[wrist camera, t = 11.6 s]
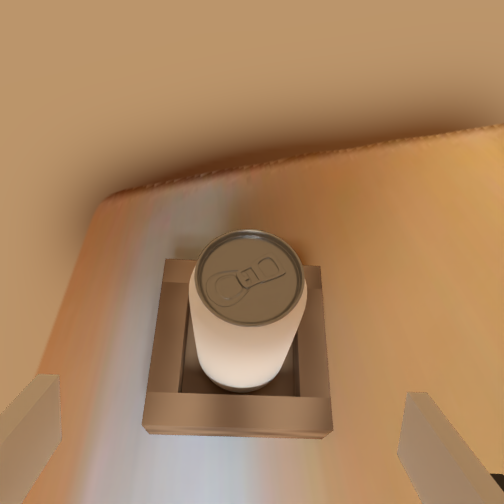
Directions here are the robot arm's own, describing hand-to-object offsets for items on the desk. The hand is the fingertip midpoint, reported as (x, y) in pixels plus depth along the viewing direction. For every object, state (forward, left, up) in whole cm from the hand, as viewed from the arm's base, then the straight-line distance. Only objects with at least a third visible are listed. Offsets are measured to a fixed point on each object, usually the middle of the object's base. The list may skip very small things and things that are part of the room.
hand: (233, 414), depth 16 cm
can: (-1, -7, -14) cm, 16 cm away
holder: (-1, -7, -15) cm, 17 cm away
